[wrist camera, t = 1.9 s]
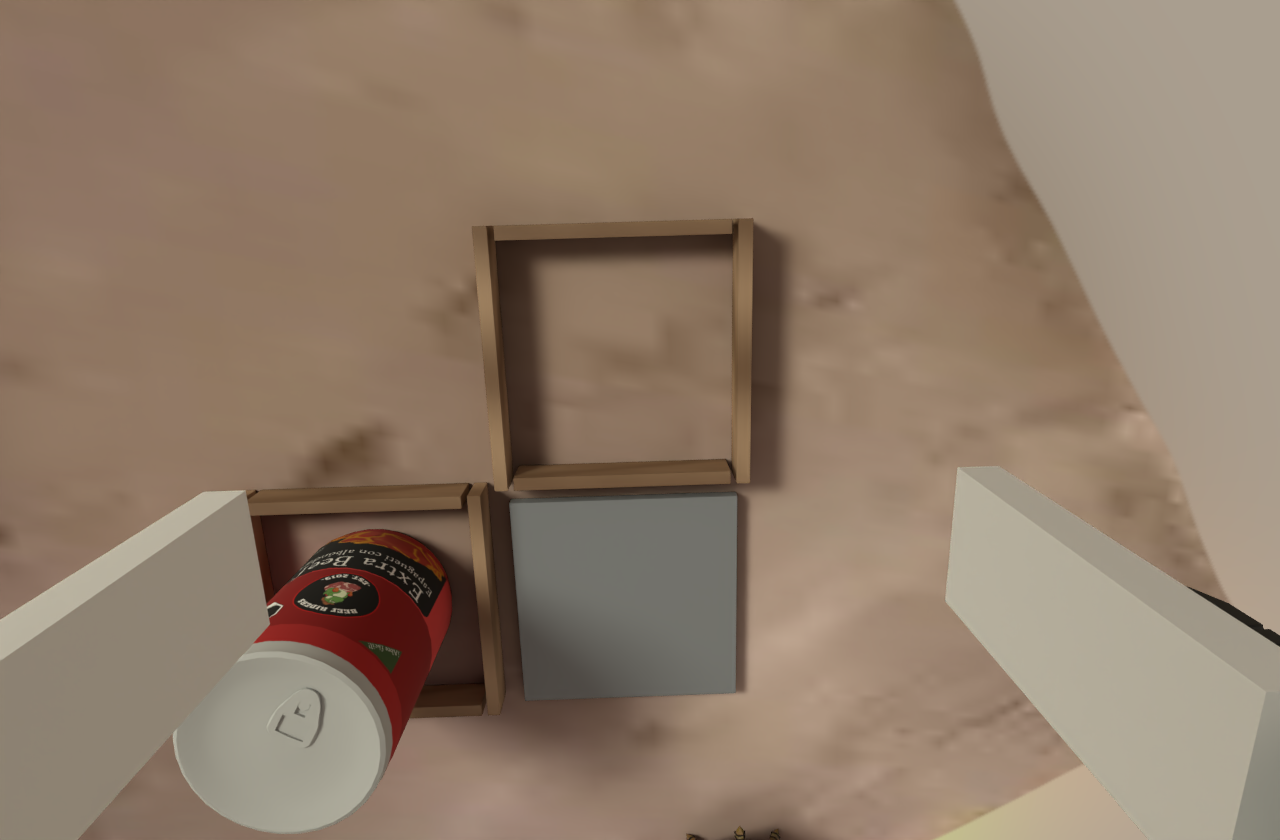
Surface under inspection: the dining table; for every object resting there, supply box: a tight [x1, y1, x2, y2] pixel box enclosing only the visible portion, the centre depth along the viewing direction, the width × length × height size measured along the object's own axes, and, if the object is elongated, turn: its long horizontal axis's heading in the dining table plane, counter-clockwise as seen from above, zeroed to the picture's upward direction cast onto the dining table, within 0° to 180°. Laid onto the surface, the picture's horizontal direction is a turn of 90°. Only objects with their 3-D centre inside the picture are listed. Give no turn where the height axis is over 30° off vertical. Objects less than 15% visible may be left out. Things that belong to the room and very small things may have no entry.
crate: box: [243, 482, 506, 718], centre depth 35 cm, size 12×12×2 cm
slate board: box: [509, 492, 737, 701], centre depth 36 cm, size 11×11×1 cm
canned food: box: [173, 529, 452, 834], centre depth 31 cm, size 8×8×11 cm
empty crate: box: [472, 218, 753, 491], centre depth 32 cm, size 12×12×2 cm
